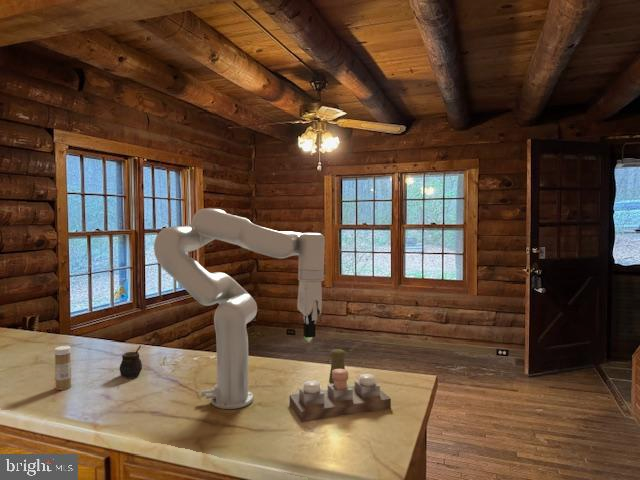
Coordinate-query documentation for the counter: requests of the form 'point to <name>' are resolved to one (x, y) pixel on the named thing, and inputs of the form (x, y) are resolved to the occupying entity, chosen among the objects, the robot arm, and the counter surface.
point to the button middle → (340, 378)
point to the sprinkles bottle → (62, 367)
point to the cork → (337, 361)
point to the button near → (311, 387)
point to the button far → (367, 379)
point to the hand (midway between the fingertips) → (309, 336)
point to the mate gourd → (130, 364)
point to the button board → (338, 402)
